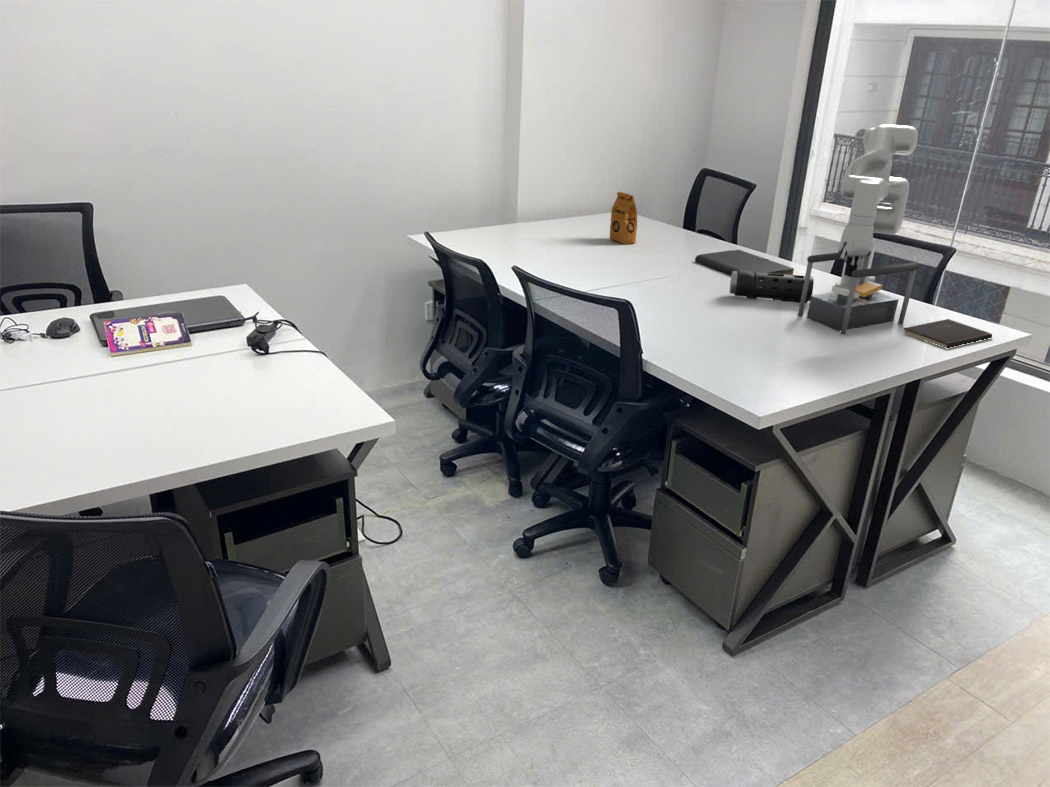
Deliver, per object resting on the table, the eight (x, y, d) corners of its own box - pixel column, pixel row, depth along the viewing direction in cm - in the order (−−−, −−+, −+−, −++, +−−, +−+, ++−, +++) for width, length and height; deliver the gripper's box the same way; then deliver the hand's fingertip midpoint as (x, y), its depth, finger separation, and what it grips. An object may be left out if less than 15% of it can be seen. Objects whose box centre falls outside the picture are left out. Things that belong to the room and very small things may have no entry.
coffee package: (620, 245, 351) (625, 196, 341) (606, 239, 361) (610, 191, 351) (639, 243, 355) (643, 195, 346) (624, 237, 365) (628, 190, 356)
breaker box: (860, 309, 275) (866, 284, 271) (893, 321, 264) (899, 295, 260) (806, 318, 264) (811, 291, 260) (838, 331, 253) (844, 303, 249)
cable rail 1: (855, 306, 279) (867, 248, 270) (860, 307, 277) (873, 249, 268) (795, 315, 267) (806, 255, 258) (800, 317, 265) (811, 256, 256)
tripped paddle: (869, 285, 265) (869, 280, 265) (881, 289, 261) (881, 284, 261) (852, 293, 263) (852, 288, 262) (863, 297, 259) (864, 292, 258)
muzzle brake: (809, 307, 276) (815, 279, 271) (729, 300, 280) (733, 273, 276) (806, 299, 284) (811, 272, 280) (728, 293, 289) (732, 266, 284)
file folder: (795, 267, 311) (749, 274, 301) (793, 277, 313) (748, 284, 302) (739, 248, 337) (695, 254, 327) (738, 257, 339) (694, 263, 329)
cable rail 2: (899, 322, 263) (914, 261, 254) (905, 324, 261) (920, 263, 253) (837, 333, 251) (851, 269, 242) (843, 335, 249) (857, 271, 240)
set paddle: (846, 293, 262) (848, 289, 261) (858, 298, 258) (860, 293, 257) (831, 290, 258) (832, 285, 257) (842, 295, 254) (844, 290, 253)
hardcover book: (902, 334, 254) (903, 328, 253) (946, 325, 264) (948, 318, 263) (946, 351, 241) (948, 344, 240) (991, 340, 251) (993, 334, 250)
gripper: (868, 216, 254) (856, 270, 262) (835, 219, 248) (824, 275, 255) (887, 221, 248) (874, 276, 255) (853, 224, 242) (841, 281, 249)
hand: (849, 275), depth 255 cm, fingers closed
